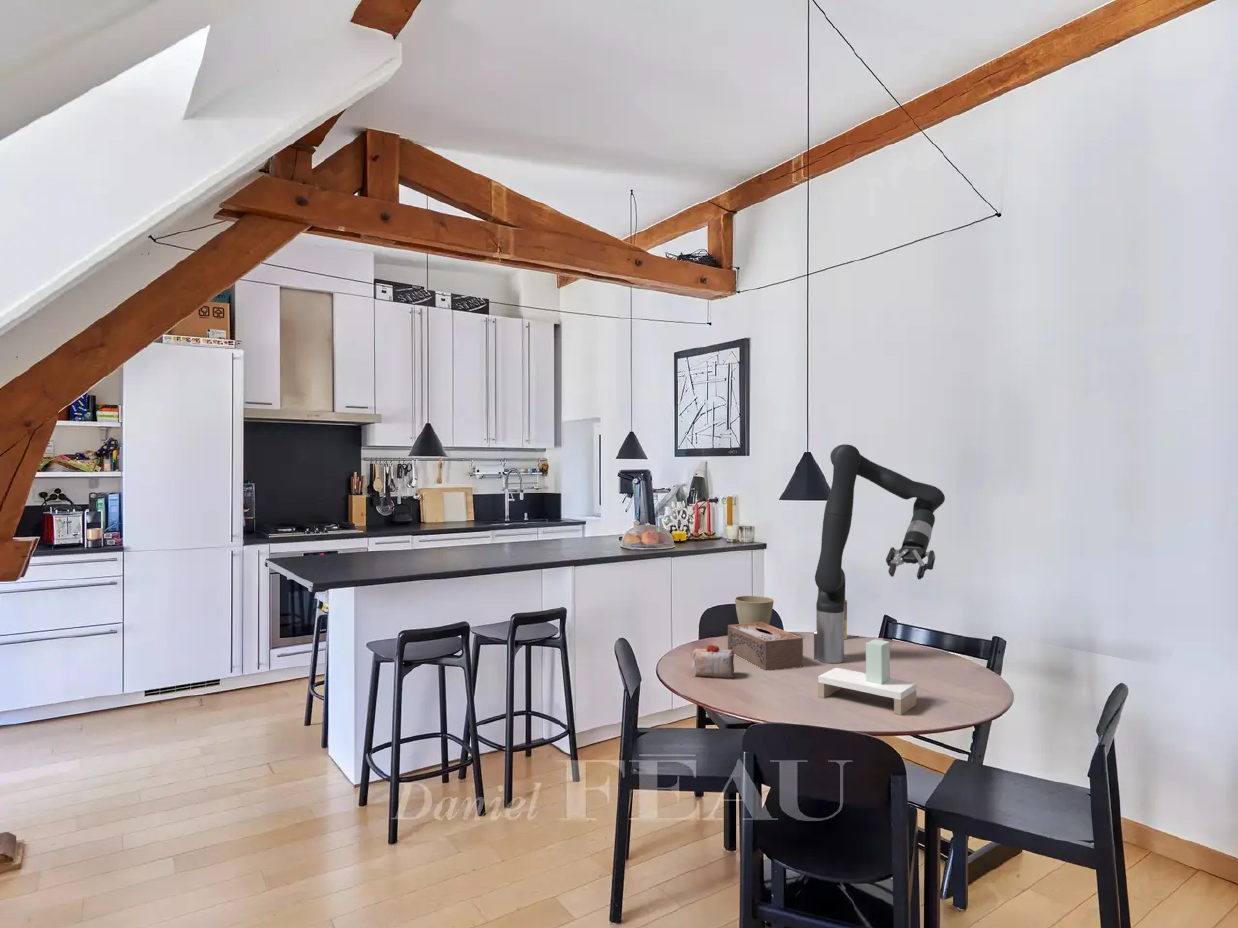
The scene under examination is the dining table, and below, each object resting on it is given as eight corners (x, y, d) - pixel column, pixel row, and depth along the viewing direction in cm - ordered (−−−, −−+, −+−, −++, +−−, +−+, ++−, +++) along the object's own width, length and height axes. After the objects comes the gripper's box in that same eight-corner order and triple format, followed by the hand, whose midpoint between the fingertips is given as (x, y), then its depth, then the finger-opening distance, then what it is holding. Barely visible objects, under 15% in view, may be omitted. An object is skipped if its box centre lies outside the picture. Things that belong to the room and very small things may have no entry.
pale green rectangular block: (865, 681, 206) (865, 642, 206) (874, 676, 211) (874, 639, 211) (881, 684, 203) (881, 645, 203) (889, 679, 208) (889, 641, 208)
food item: (690, 677, 231) (690, 646, 231) (693, 670, 239) (693, 640, 239) (733, 680, 228) (733, 649, 228) (735, 673, 236) (735, 643, 236)
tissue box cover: (727, 652, 263) (727, 625, 263) (762, 649, 268) (762, 622, 268) (765, 671, 238) (765, 641, 238) (802, 667, 243) (802, 637, 243)
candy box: (839, 636, 286) (839, 598, 286) (847, 639, 282) (847, 599, 282) (822, 639, 282) (822, 599, 282) (830, 641, 278) (830, 601, 278)
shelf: (818, 696, 212) (818, 675, 212) (835, 687, 221) (836, 667, 221) (900, 715, 196) (900, 693, 196) (916, 704, 205) (916, 683, 205)
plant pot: (765, 646, 270) (765, 603, 270) (728, 641, 279) (728, 599, 279) (779, 638, 283) (779, 597, 283) (744, 633, 291) (744, 594, 291)
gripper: (892, 528, 240) (879, 566, 231) (937, 531, 230) (925, 571, 222) (898, 543, 244) (885, 581, 235) (942, 546, 234) (930, 586, 226)
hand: (904, 576), depth 228 cm, fingers open, 8 cm apart
